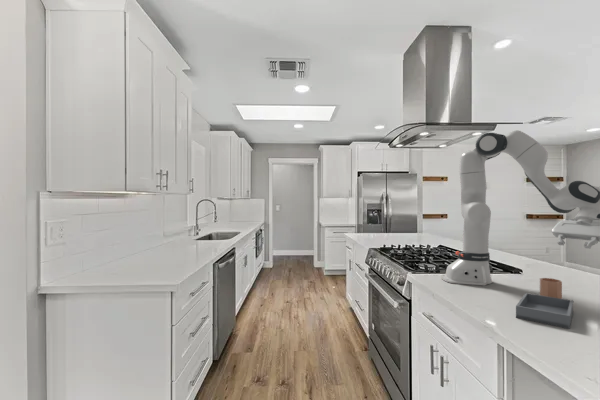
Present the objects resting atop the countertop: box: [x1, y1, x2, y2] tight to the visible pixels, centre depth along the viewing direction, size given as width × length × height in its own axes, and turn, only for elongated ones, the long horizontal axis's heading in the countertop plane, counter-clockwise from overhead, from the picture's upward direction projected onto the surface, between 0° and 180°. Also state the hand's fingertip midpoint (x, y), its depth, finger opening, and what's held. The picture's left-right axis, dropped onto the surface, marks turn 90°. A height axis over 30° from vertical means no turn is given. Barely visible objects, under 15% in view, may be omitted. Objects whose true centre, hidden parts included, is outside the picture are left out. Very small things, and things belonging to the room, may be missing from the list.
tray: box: [515, 292, 574, 330], centre depth 112 cm, size 20×14×4 cm
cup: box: [539, 277, 563, 299], centre depth 125 cm, size 6×6×8 cm
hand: (572, 245), depth 129 cm, fingers open, 8 cm apart
